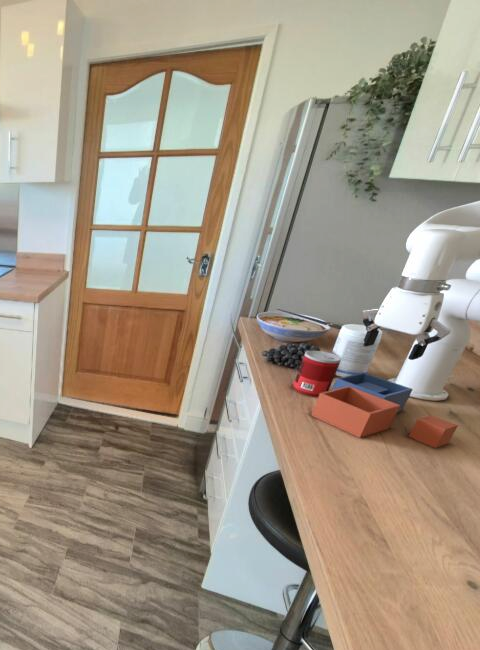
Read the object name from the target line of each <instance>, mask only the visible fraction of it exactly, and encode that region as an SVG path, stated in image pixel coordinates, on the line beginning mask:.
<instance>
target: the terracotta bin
mask: <svg viewBox="0 0 480 650" xmlns="http://www.w3.org/2000/svg"><path fill="white" fill-rule="evenodd" d="M399 407H400V405H398V404H395V403H393V402H390V401H388V400H385V399H382V398H380V397H377V396H374V395H372V394H369V393H366V392H364V391H361V390H358V389H356V388H353V387H350V386H346V387H342V388H339V389H335V390H332V389H331V390H328V391H327V392H323V393H320V394H319V397H317V399H316V402H315V405H314V407H313V409H312V411H311V414H310V416H312V417H313V418H315V419H318V420H320V421H323V422H324V423H327V424H328V425H331V426H333V427H335V428H338V429H340V430H342V431H344V432H347V433H348V434H350V435H353V436H355V437H357V438H359V439H360V438H364V437H367V436H370V435H372V434H375V433H379V432H382V431H385V430H388V429H390V427H391V425H392V423H393V422H394V419H395V417H396V415H397V413H398V412H397V411H398V409H399Z"/></svg>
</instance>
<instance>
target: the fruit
mask: <svg viewBox="0 0 480 650" xmlns="http://www.w3.org/2000/svg"><path fill="white" fill-rule="evenodd" d="M307 351H321V348H320V347H318V346H315V345H314V344H313V343H306V342H301V343H300V344H298V343H296V344H293V342H292V343H291V342H286V344H280V345H279V347H276V348H274V347H271V348H270V349H269V350H262V352H261V355H262V357H266V358H265V360H266V362H268V363H273V364H277V363H278V366H280V367H282V366H286V367H290V368H294V369H295V370H297V371H299V368H300V365H301V363H302V360H303V357H304V355H305V353H306V352H307Z"/></svg>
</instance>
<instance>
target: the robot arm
mask: <svg viewBox="0 0 480 650" xmlns="http://www.w3.org/2000/svg"><path fill="white" fill-rule="evenodd" d="M405 248H406V251H407V252H408V253H409V255H408V257H407V260H406V263H405V265H404V267H403V270H402V272H401V275H400V277H399V279H398V282H397V284H396V286H393V287H391V289H390V290H389V292H388V293H387V295H386V296H385V298H384V299H383V301H382V303H381V305H380V306H379V308H373V309H368V310H367V309H366V310H363V311H362V312H361V317H362V323H363V325H365V326H366V330H367V333H366V336H365V338H364V345H363V346H370V345H373V344H374V343H375V340H376V338H377V336H378V333H379V330H378V329H380V328H384V329H388V330H390V331H394V332H399V333H403V334H407V335H411V336H414V338H415V339H414V341H413V343H412V346H411V348H410V350H409V352H408V354H407V356H406V358H405V360H404V362H403V364H402V365H401V366H402V367H401V368H400V370H399V373H398V375H397V376H396V377H392V378H389V379H387V380H388V381H390V382H393V383H396V384H399V385H402V386H405V387H408V388H411V389H413V390H412V392H411V394H410V396H409V398H410V397H411V398H414V399H419V400H425V401H434V402H435V401H436V402H438V401H445V400H447V398H448V396H449V392H448V391H447V390H446V389H444V387H445V386H446V384H447V382H448V381H450V376H451V375H452V373H453V371H454V369H455V367H456V365H457V363H458V361H459V360H460V358H461V356H462V354H463V353H464V350H465V349H466V347H467V345H468V344H469V342H470V340H471V336H472V331H471V326H470V324H469V322H468V321H473V322H476V323H480V200H478V201H473V202H470V203H466V204H463V205H459V206H454V207H450V208H448V209H445V210H442V211H440V212H436V213H435V214H434V215H432V216H430V217H429V218H427V219H426V220H425V221H423V222H422V223H420V224H419V225H417V226H416V228H414V230H412V232H411V233H410V234H409V236H408V237H407V240H406V243H405ZM455 262H460V263H472V264H471V265H470V266H469V267H468V268H467V270H466V272H465V278H451V279H447V278H448V276H449V274H450V272H451V270H452V267H453V265H454V263H455ZM372 315H375V317H374V320H373V319H372Z"/></svg>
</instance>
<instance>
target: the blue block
mask: <svg viewBox="0 0 480 650" xmlns="http://www.w3.org/2000/svg"><path fill="white" fill-rule="evenodd" d="M357 385H358V386H361V387H363V388H366V389H369V390H371V391H374V392H377V393H379V394H382V395H387V393H388V391H389V389H386V388H384V387H381V386H378V385H375V384H372V383H370V382H365V383H361V384H357Z"/></svg>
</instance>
